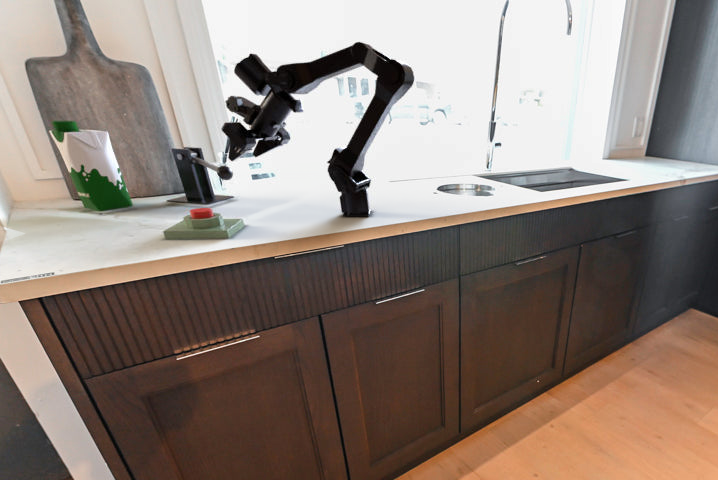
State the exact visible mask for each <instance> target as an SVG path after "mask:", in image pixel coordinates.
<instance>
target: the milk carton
mask: <svg viewBox="0 0 718 480" xmlns="http://www.w3.org/2000/svg"><path fill="white" fill-rule="evenodd" d="M51 124H52V126H53V129H54V130H49V134H50V136H51V138H52V140H53V142H54V143H55V145H56V147H57V148H58V151H59V152H60V155H61V157H62V159H63V163H64V164H65V166H66V169H67V171H68V173H69V175H70V178H71V180H72V182H73V185H74V187H75V190H76V192H77V194H78V197H79V199H80V201H81V203H82V205H83V207H84V209H87V210H92V211H95V212H99V213H97V214H99V215H102V212H106V211H111V210H117V209H123V208H130V207H133V206H134V204H133V201H132V198H131V196H130V193H129V191H128V188H127V185H126V182H125V180H124V177H123V174H122V172H121V169H120V165H119V163H118V161H117V158H116V155H115V152H114V150H113V146H112V142H111V140H110V139H111V138H110V135H109V132H108V131H105V130H104V131H103V130H96V129H79V126H78V124H77V122H76V120H52V121H51ZM100 212H101V213H100Z"/></svg>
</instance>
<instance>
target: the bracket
mask: <svg viewBox="0 0 718 480" xmlns="http://www.w3.org/2000/svg"><path fill="white" fill-rule="evenodd" d="M190 150H191V151H193V152H195V153H197V157H198V158H200V159H202V160H204V161H206V160H205V157H204V153H203V149H202V147H191V146H183V148H175V147H174V148H171V153H172V156H173V160H174V163H175V166H176V170H177V172H178V175H179V178H180V182H181V185H182V188H183V192H184V195H183V196H179V197H174V198H170V199H166V202H167V203H179V204H180V203H181V204H191V205H192V204H193V205H207V206H208V205H213V204H216V203H219V202H223V201H227V200H230V199H233V198H235V196H234V195H223V194H215V192H214V188H213V186H212V185H213V184H212V182H211V178H210V175H209V170H208V167H206V166H203V165H201V164H199V163H197V162H193V160H192V156H191V153H190Z"/></svg>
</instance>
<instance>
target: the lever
mask: <svg viewBox="0 0 718 480" xmlns="http://www.w3.org/2000/svg"><path fill="white" fill-rule="evenodd" d="M190 153H191V156H192V160H193V162H197V163H199V164H201V165H203V166H206V167H207V169H210V170H211V171H214V172H216V174H217V176H218V177H219V178H220V179H221V180H223V181H230V180H231V179H233V177H234V172H233V170H232V168H230V167H229V166H227V165H219V166H217V165H215V164H213V163H211V162H208V161H206V160H205V159H204V160H205V161H204V160H202V159H200V158H198V157H197V153H195V152H193V151H191V150H190Z"/></svg>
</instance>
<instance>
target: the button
mask: <svg viewBox="0 0 718 480" xmlns="http://www.w3.org/2000/svg"><path fill="white" fill-rule="evenodd" d="M213 213H214V212H213V209H212V208H210V207H198V208H193V209H190V210H189V215H191V217H192V219H205V218H211V217H214V215H213Z"/></svg>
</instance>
